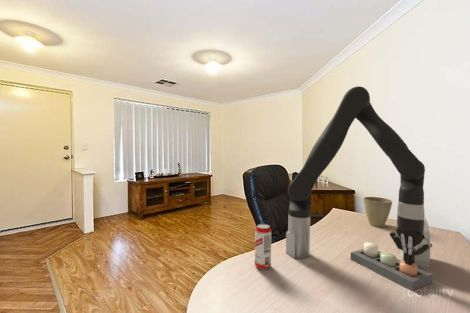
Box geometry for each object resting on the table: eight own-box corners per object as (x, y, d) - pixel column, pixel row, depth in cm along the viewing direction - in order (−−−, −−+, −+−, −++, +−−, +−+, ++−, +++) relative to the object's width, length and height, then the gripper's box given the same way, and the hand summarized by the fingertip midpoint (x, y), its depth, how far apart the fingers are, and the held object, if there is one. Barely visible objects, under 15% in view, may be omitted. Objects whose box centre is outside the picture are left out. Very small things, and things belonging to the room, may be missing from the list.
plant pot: (359, 224, 139) (359, 199, 139) (367, 219, 150) (368, 195, 149) (387, 231, 128) (388, 203, 128) (394, 225, 139) (395, 199, 138)
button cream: (372, 259, 90) (372, 248, 90) (360, 254, 95) (361, 243, 94) (380, 257, 92) (380, 246, 92) (368, 251, 97) (369, 241, 96)
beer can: (260, 272, 85) (261, 229, 84) (251, 264, 90) (252, 224, 90) (274, 268, 87) (274, 227, 87) (264, 260, 93) (265, 222, 92)
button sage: (390, 271, 84) (390, 259, 84) (377, 265, 88) (377, 253, 88) (398, 268, 86) (399, 257, 86) (385, 262, 90) (385, 251, 90)
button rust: (411, 281, 77) (412, 268, 77) (396, 274, 82) (396, 261, 82) (420, 278, 79) (420, 265, 79) (404, 271, 84) (405, 259, 84)
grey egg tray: (411, 291, 74) (412, 282, 74) (350, 259, 95) (350, 252, 95) (432, 282, 79) (432, 274, 79) (369, 254, 100) (369, 247, 100)
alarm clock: (429, 276, 83) (431, 223, 82) (403, 270, 86) (405, 219, 86) (419, 254, 101) (421, 210, 100) (399, 250, 105) (400, 207, 104)
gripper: (384, 211, 84) (383, 257, 85) (426, 222, 72) (424, 275, 73) (397, 209, 87) (395, 254, 88) (439, 219, 75) (437, 270, 76)
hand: (408, 263), depth 80 cm, fingers closed
